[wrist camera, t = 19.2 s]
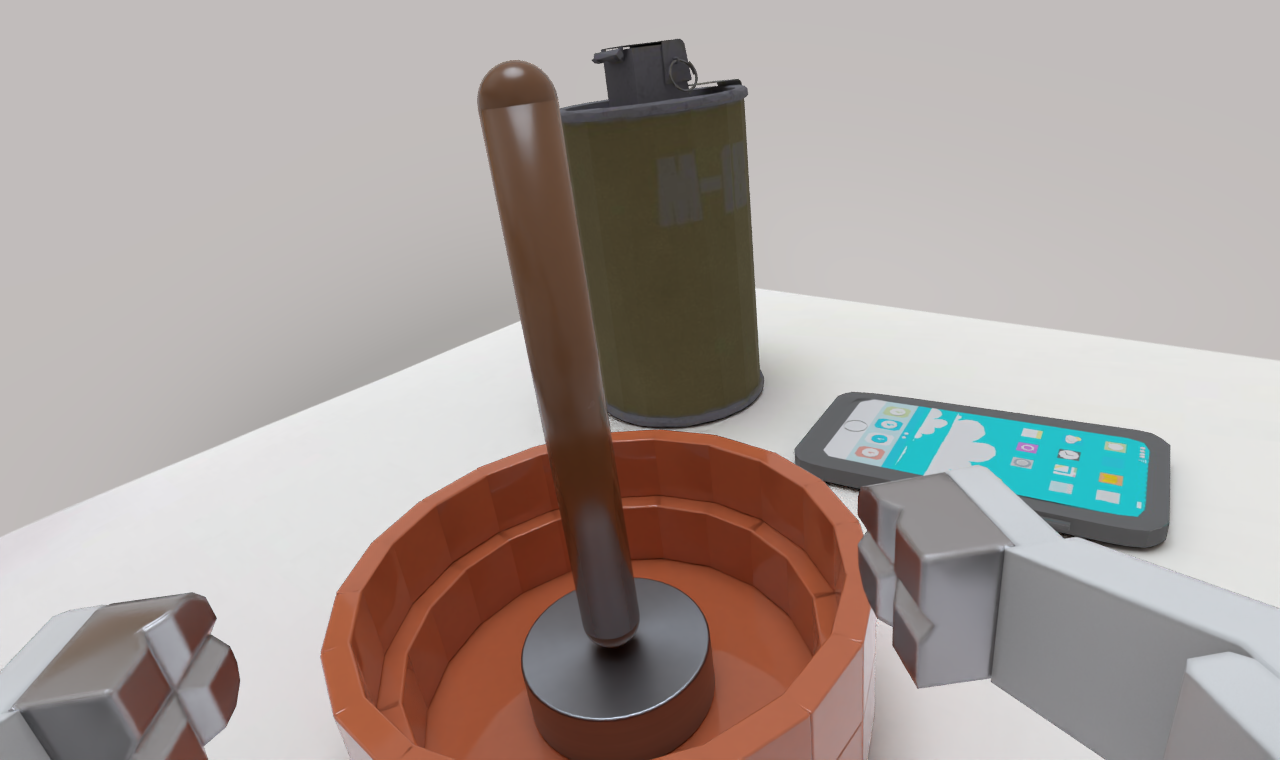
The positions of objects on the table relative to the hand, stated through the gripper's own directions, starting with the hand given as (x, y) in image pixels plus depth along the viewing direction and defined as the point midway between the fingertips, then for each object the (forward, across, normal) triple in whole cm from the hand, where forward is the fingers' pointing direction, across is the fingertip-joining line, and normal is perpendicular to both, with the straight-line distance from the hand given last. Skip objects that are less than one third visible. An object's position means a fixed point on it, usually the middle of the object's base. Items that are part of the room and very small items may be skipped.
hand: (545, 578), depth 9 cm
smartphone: (+20, -17, +14) cm, 30 cm away
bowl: (+10, 0, +14) cm, 17 cm away
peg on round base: (+10, 0, +13) cm, 16 cm away
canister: (+34, -6, +14) cm, 37 cm away
